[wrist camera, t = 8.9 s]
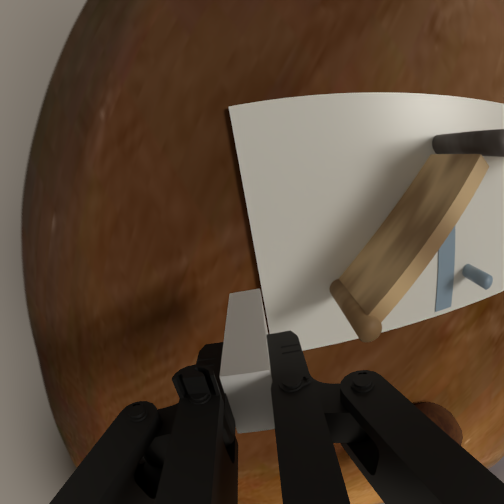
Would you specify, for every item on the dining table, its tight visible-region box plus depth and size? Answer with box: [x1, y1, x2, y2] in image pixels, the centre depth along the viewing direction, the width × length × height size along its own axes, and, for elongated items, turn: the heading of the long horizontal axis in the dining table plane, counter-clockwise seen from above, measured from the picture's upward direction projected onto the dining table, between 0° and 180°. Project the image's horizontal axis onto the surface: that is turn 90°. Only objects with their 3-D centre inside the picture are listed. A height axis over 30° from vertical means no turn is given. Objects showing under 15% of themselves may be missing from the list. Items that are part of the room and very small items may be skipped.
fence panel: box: [329, 154, 489, 342], centre depth 16 cm, size 12×1×6 cm, turn 143°
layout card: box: [229, 92, 504, 351], centre depth 18 cm, size 18×25×3 cm
